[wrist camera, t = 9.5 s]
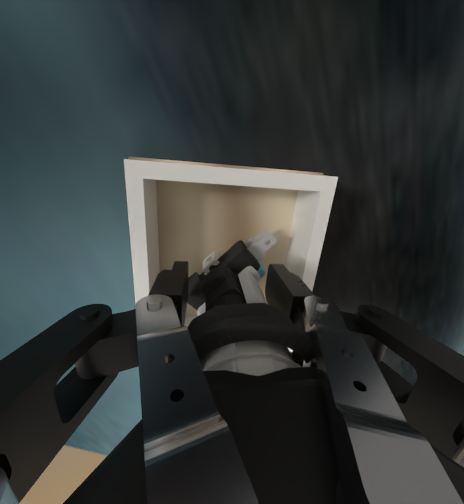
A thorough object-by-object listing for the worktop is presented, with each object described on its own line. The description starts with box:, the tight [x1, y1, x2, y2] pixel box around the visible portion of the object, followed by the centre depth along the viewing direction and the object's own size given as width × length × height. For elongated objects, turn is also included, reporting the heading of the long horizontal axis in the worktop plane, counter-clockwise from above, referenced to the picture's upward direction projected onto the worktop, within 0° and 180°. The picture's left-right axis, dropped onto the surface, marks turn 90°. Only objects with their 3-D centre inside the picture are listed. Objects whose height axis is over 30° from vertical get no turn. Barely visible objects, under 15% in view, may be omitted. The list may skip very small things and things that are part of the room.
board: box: [129, 157, 323, 316], centre depth 16 cm, size 12×18×4 cm, turn 176°
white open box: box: [124, 159, 338, 352], centre depth 14 cm, size 11×12×3 cm
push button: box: [187, 229, 312, 376], centre depth 10 cm, size 7×5×10 cm
